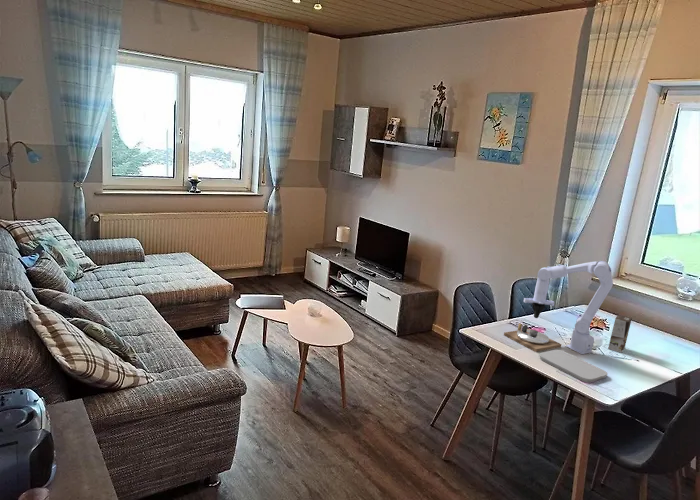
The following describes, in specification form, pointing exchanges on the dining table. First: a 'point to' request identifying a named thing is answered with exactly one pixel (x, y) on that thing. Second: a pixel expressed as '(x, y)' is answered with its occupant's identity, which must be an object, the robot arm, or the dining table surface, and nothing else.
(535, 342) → the white round dish
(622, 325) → the coffee box
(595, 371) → the tablet
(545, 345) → the base board
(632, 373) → the dining table surface
